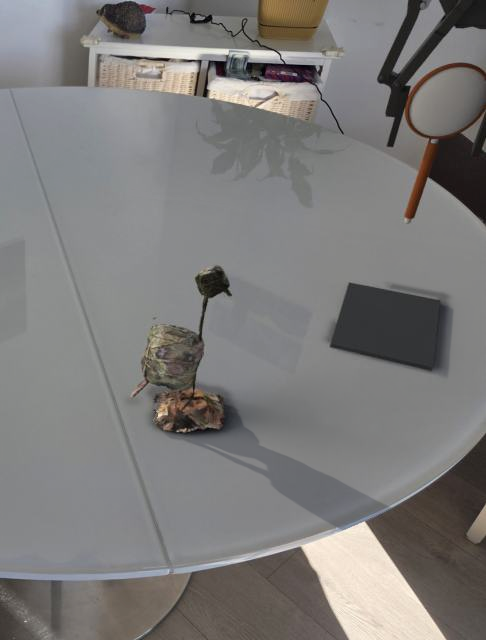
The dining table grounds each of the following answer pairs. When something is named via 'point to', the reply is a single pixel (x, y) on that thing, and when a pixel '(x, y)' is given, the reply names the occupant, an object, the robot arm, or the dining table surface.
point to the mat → (388, 325)
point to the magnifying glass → (442, 113)
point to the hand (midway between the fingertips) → (432, 147)
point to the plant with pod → (183, 367)
